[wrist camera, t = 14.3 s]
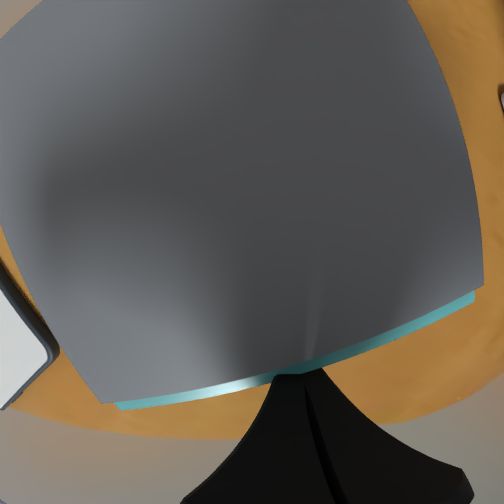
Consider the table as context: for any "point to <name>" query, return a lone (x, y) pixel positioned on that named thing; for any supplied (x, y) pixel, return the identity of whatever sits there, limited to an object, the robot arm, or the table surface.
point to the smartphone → (21, 343)
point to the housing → (229, 183)
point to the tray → (305, 365)
